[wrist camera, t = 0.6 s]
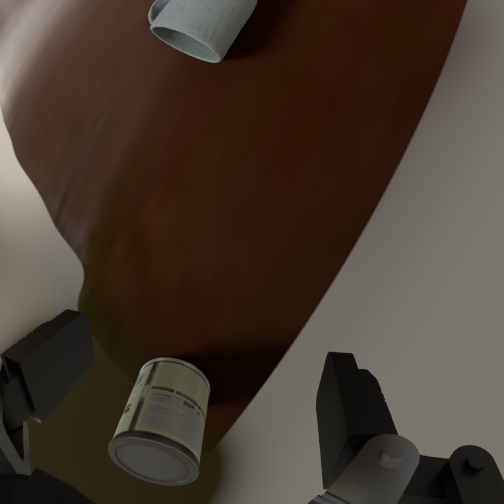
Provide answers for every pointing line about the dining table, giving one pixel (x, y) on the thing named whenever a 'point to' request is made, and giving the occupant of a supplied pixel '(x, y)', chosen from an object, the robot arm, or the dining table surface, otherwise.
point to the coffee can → (163, 423)
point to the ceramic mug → (200, 25)
